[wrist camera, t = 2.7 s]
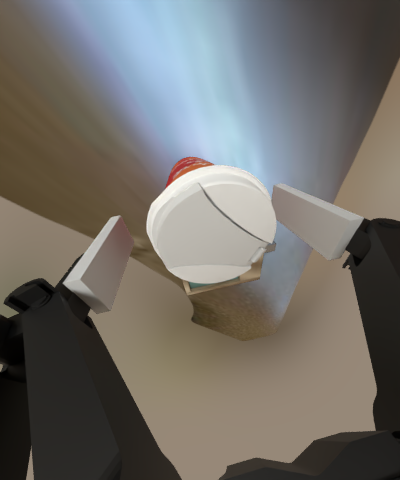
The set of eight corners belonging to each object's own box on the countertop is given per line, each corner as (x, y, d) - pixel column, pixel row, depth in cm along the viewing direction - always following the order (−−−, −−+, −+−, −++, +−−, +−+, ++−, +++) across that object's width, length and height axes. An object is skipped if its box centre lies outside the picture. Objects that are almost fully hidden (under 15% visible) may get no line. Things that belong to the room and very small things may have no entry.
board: (163, 221, 24) (163, 224, 23) (269, 200, 25) (272, 202, 24) (187, 292, 36) (187, 295, 35) (257, 276, 37) (259, 279, 36)
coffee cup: (230, 163, 20) (315, 206, 8) (205, 214, 24) (238, 294, 12) (170, 132, 17) (169, 131, 5) (153, 196, 21) (130, 279, 9)
